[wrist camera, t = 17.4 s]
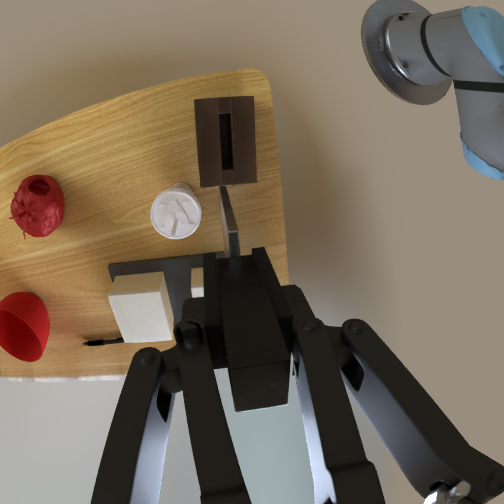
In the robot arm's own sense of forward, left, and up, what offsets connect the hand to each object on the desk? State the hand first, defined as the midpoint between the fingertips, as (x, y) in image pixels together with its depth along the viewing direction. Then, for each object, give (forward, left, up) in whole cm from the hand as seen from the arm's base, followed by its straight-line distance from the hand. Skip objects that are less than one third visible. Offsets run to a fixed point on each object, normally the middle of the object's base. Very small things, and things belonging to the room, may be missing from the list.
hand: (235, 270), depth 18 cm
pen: (+25, +30, -28) cm, 48 cm away
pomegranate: (+29, 0, -28) cm, 40 cm away
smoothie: (+5, +3, -28) cm, 29 cm away
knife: (0, 0, -9) cm, 9 cm away
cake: (+14, +20, -28) cm, 37 cm away
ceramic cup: (+43, +21, -28) cm, 55 cm away
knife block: (-1, -6, -28) cm, 29 cm away
